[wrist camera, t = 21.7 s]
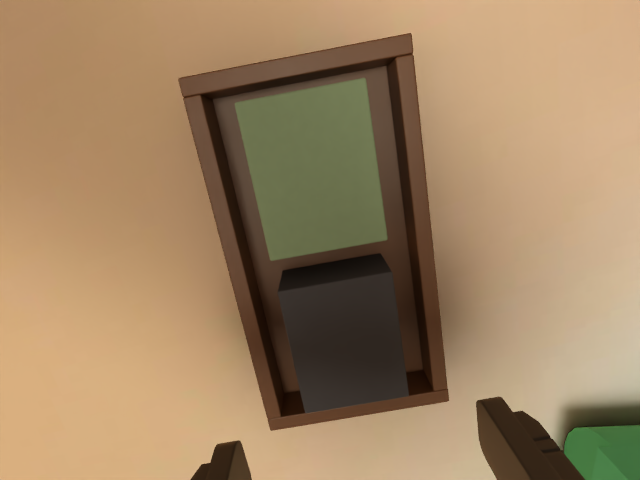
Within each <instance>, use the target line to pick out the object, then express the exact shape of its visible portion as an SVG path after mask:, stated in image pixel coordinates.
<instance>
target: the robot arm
mask: <svg viewBox="0 0 640 480" xmlns="http://www.w3.org/2000/svg"><path fill="white" fill-rule="evenodd" d="M476 408H477V421H478V434H479V441H480V445H481V448H482V451H483V454H484V456H485V458H486V460H487V462H488V464H489V466H490V467H491V469H492V471H493V473H494V475H495V476H496V478H497V480H585V479H584V477H583V476H582V475H581V474H580V472H579V471H578V470H577V469H576V468H575V466H574V465H573V464H572V463H571V461H570V460H569V459H568V458H567V456H566V455H565V454H564V453H563V451H561V450H560V448H559V446H558V445H557V444H556V443H555V442H554V440H553V439H551V438H550V435H549V434H548V433H547V432H546V430H545V429H544V428H543V427H542V425H541V424H540V423H539V422H538V421H537V420H535V419H534V418H532V417H531V416H529V415H528V414H526V413H525V412H523V411H518V412H512V411H511V409H510V408H509V406H508V405H507V404H506V402H505V401H504V400H503V399H502V398H501V397H495V398H489V399H483V400H478V401H477V402H476ZM191 480H252V479H251V474H250V470H249V467H248V464H247V460H246V457H245V453H244V450H243V447H242V444H241V442H240V441H233V442H227V443H221V444H217V445H216V447H215V450H214V453H213V456H212V459H211V463H207V464H202V465H201V466H200V467H199V469H198V470H197V472H196V473H195V474H194V476H193V477H192V478H191Z"/></svg>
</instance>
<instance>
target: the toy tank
mask: <svg viewBox="0 0 640 480" xmlns="http://www.w3.org/2000/svg"><path fill="white" fill-rule="evenodd" d="M564 454H565V455H566V456H567V458H568V459H569V460H570V461H571V463H572V464H573V465H574V466H575V468H576V469H577V470H578V471H579V472H580V474H581V475H582V476H583V477H584V479H585V480H640V425H628V426H604V427H580V428H574V429H573V430H572V431H571V432H569V433H568V436H567V438H566V441H565V444H564Z"/></svg>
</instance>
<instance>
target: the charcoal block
mask: <svg viewBox="0 0 640 480" xmlns="http://www.w3.org/2000/svg"><path fill="white" fill-rule="evenodd" d="M278 297H279V301H280V306H281V310H282V314H283V319H284V323H285V328H286V332H287V336H288V341H289V345H290V349H291V354H292V358H293V363H294V367H295V371H296V376H297V380H298V384H299V389H300V393H301V398H302V402H303V406H304V411H305V413H312V412H318V411H324V410H330V409H336V408H342V407H348V406H354V405H360V404H366V403H372V402H378V401H384V400H390V399H396V398H402V397H408V396H409V391H408V383H407V376H406V369H405V361H404V354H403V347H402V339H401V332H400V324H399V317H398V310H397V302H396V295H395V287H394V280H393V273H392V271H391V269H390V268H389V266H388V264H387V263H386V261H385V259H384V258H383V256H382V255H381V253H378V254H373V255H367V256H362V257H356V258H350V259H345V260H339V261H333V262H328V263H322V264H317V265H311V266H305V267H300V268H294V269H288V270H283V271H282V275H281V280H280V284H279V289H278Z"/></svg>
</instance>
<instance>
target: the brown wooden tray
mask: <svg viewBox="0 0 640 480" xmlns="http://www.w3.org/2000/svg"><path fill="white" fill-rule="evenodd" d="M412 53H413V44H412V35H411V33H408V34H403V35H398V36H393V37H388V38H383V39H377V40H372V41H367V42H362V43H357V44H352V45H347V46H341V47H336V48H331V49H326V50H321V51H316V52H311V53H305V54H300V55H295V56H290V57H285V58H280V59H275V60H269V61H264V62H259V63H254V64H249V65H244V66H238V67H233V68H228V69H223V70H218V71H213V72H208V73H202V74H197V75H192V76H187V77H182V78H179V79H178V81H179V84H180V88H181V92H182V96H183V97H184V98H183V100H184V104H185V107H186V111H187V115H188V119H189V123H190V126H191V130H192V134H193V138H194V142H195V145H196V149H197V153H198V157H199V161H200V164H201V168H202V172H203V176H204V180H205V183H206V187H207V191H208V195H209V199H210V202H211V206H212V210H213V214H214V218H215V221H216V225H217V229H218V233H219V237H220V240H221V244H222V248H223V252H224V256H225V259H226V263H227V267H228V271H229V274H230V278H231V282H232V286H233V290H234V293H235V297H236V301H237V305H238V309H239V312H240V316H241V320H242V324H243V328H244V331H245V335H246V339H247V343H248V347H249V350H250V354H251V358H252V362H253V366H254V369H255V373H256V377H257V381H258V385H259V388H260V392H261V396H262V400H263V404H264V407H265V411H266V415H267V418H268V423H269V427H270V430H271V431H272V430H278V429H284V428H290V427H296V426H302V425H308V424H314V423H320V422H326V421H332V420H338V419H344V418H350V417H356V416H362V415H368V414H374V413H381V412H387V411H393V410H399V409H405V408H411V407H417V406H423V405H429V404H435V403H441V402H447V401H449V396H448V389H447V378H446V369H445V359H444V349H443V339H442V330H441V320H440V310H439V300H438V290H437V281H436V271H435V261H434V251H433V241H432V232H431V222H430V212H429V202H428V193H427V183H426V173H425V163H424V153H423V144H422V134H421V124H420V114H419V104H418V95H417V85H416V75H415V65H414V56H413V54H412ZM360 78H365V79H366V82H367V89H368V97H369V104H370V111H371V119H372V126H373V133H374V141H375V148H376V155H377V163H378V170H379V177H380V185H381V192H382V200H383V207H384V214H385V222H386V229H387V236H388V239H387V240H386V241H380V242H375V243H369V244H364V245H358V246H352V247H347V248H341V249H336V250H330V251H325V252H319V253H313V254H308V255H302V256H297V257H291V258H285V259H280V260H274V261H271V260H270V257H269V253H268V249H267V244H266V240H265V236H264V231H263V227H262V223H261V218H260V214H259V209H258V205H257V201H256V196H255V192H254V188H253V183H252V179H251V174H250V170H249V166H248V161H247V157H246V153H245V148H244V144H243V140H242V135H241V131H240V126H239V122H238V118H237V113H236V109H235V103H236V102H240V101H245V100H250V99H255V98H261V97H266V96H271V95H276V94H282V93H287V92H292V91H297V90H302V89H308V88H313V87H318V86H323V85H328V84H334V83H339V82H344V81H349V80H355V79H360ZM378 253H381V255H382V256H383V258H384V259H385V261H386V263H387V264H388V266H389V268H390V269H391V271H392V273H393V280H394V287H395V295H396V302H397V310H398V317H399V324H400V332H401V339H402V347H403V354H404V361H405V369H406V376H407V383H408V391H409V396H408V397H402V398H396V399H390V400H384V401H378V402H372V403H366V404H360V405H354V406H348V407H342V408H336V409H330V410H324V411H318V412H312V413H305V411H304V406H303V402H302V398H301V393H300V389H299V384H298V380H297V376H296V371H295V367H294V363H293V358H292V354H291V349H290V345H289V341H288V336H287V332H286V328H285V323H284V319H283V314H282V310H281V306H280V301H279V297H278V289H279V284H280V280H281V275H282V271H283V270H288V269H294V268H300V267H305V266H311V265H317V264H322V263H328V262H333V261H339V260H345V259H350V258H356V257H362V256H367V255H373V254H378Z"/></svg>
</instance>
